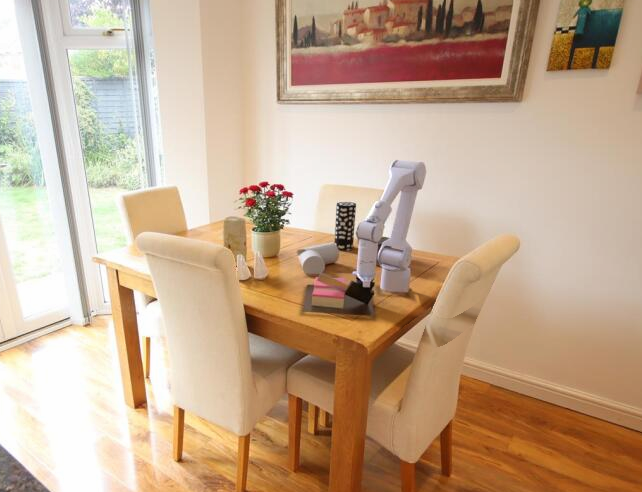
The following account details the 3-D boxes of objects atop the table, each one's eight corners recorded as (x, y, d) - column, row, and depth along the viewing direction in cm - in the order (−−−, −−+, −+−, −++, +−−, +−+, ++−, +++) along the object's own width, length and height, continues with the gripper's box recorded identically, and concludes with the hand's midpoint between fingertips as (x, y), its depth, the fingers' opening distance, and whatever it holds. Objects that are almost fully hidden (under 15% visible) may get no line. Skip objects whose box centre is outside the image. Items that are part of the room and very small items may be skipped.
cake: (344, 289, 161) (344, 278, 159) (344, 298, 154) (344, 287, 152) (315, 287, 163) (315, 276, 161) (313, 296, 156) (314, 285, 154)
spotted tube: (330, 246, 211) (333, 202, 203) (347, 244, 213) (349, 201, 205) (339, 251, 203) (342, 206, 196) (356, 249, 206) (359, 204, 198)
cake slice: (344, 302, 150) (345, 291, 149) (343, 308, 146) (343, 296, 145) (313, 299, 153) (314, 288, 151) (311, 305, 149) (312, 294, 147)
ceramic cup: (396, 265, 186) (398, 241, 182) (375, 268, 182) (377, 244, 178) (376, 256, 197) (378, 233, 193) (356, 259, 193) (358, 236, 189)
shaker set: (268, 277, 176) (268, 249, 172) (268, 281, 173) (268, 253, 168) (237, 276, 178) (236, 249, 173) (236, 280, 174) (235, 252, 169)
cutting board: (369, 290, 162) (370, 287, 161) (374, 319, 141) (374, 316, 141) (307, 287, 166) (307, 284, 166) (302, 314, 145) (302, 311, 145)
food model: (248, 262, 193) (247, 215, 185) (245, 268, 187) (244, 219, 179) (225, 261, 195) (224, 215, 187) (221, 266, 189) (219, 219, 181)
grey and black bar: (367, 302, 150) (374, 290, 148) (367, 305, 148) (374, 293, 146) (317, 278, 150) (323, 267, 148) (316, 281, 148) (322, 269, 146)
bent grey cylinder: (290, 257, 194) (296, 274, 175) (297, 233, 189) (303, 248, 171) (331, 265, 195) (341, 282, 177) (338, 241, 191) (349, 256, 173)
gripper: (353, 252, 151) (350, 290, 156) (354, 267, 138) (351, 308, 143) (375, 252, 149) (371, 291, 155) (378, 268, 136) (374, 309, 142)
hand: (363, 299), depth 149 cm, fingers closed on grey and black bar, 2 cm apart
